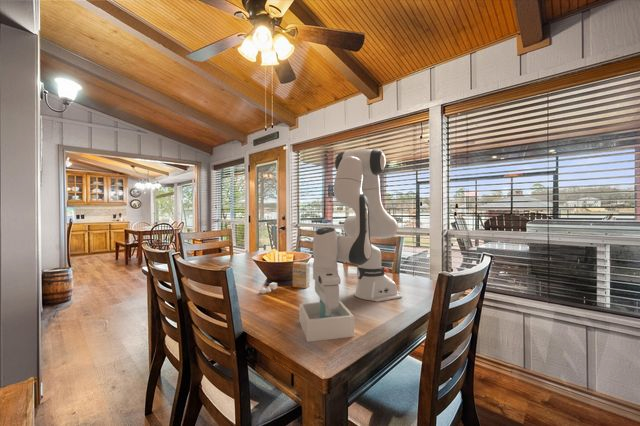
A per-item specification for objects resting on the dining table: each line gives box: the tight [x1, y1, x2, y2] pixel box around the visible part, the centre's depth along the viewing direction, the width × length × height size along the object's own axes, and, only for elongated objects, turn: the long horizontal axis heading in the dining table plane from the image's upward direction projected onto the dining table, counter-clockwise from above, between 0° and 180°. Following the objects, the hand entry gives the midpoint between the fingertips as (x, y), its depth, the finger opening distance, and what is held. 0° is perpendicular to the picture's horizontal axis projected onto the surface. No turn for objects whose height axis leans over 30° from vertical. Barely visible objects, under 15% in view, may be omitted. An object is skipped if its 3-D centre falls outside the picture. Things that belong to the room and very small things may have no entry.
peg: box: [319, 299, 331, 318], centre depth 103 cm, size 4×4×9 cm
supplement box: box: [292, 261, 311, 289], centre depth 154 cm, size 8×5×13 cm, turn 70°
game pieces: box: [259, 282, 278, 295], centre depth 148 cm, size 12×3×3 cm, turn 155°
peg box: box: [299, 300, 355, 343], centre depth 103 cm, size 16×16×7 cm
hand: (325, 312), depth 103 cm, fingers closed on peg, 4 cm apart
